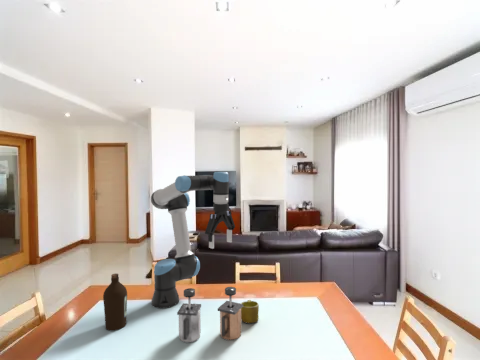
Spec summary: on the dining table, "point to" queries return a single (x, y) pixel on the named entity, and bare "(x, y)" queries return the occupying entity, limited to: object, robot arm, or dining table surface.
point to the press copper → (230, 320)
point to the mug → (249, 311)
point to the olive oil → (115, 304)
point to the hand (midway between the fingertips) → (220, 245)
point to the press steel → (189, 323)
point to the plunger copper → (230, 294)
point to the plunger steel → (189, 296)
